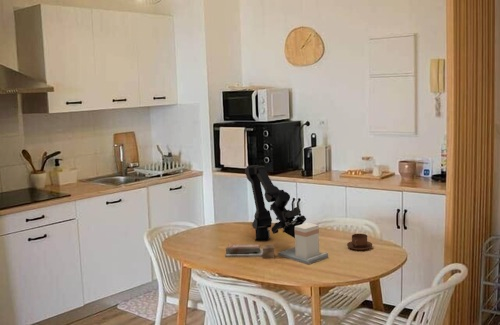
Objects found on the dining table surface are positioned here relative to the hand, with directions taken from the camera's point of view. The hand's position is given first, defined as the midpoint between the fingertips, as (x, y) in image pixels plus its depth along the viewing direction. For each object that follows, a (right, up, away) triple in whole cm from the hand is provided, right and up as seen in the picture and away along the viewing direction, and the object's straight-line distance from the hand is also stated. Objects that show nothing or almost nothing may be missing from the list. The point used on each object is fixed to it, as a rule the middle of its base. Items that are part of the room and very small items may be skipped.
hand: (298, 238), depth 268 cm
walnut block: (-14, -9, +1) cm, 16 cm away
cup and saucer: (+30, -6, +7) cm, 32 cm away
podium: (+2, -8, -1) cm, 8 cm away
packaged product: (-25, -9, +7) cm, 28 cm away
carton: (+4, -7, -3) cm, 9 cm away
